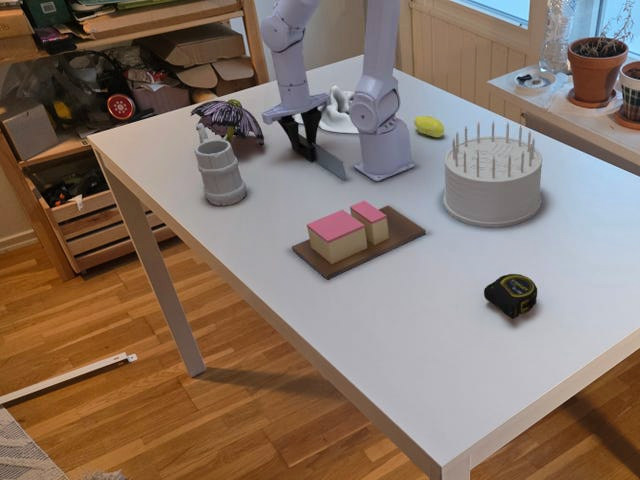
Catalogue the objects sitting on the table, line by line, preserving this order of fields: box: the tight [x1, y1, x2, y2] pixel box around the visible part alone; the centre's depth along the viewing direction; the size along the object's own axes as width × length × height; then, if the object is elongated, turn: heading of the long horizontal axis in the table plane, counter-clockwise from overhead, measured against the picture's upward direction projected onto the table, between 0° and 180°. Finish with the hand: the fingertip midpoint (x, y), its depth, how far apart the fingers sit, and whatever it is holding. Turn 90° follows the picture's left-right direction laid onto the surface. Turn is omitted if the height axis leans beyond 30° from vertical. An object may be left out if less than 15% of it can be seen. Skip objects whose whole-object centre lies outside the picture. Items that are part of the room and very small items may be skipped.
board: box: [291, 205, 426, 280], centre depth 110 cm, size 20×11×1 cm, turn 130°
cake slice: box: [349, 200, 389, 245], centre depth 109 cm, size 3×6×4 cm, turn 40°
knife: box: [290, 133, 347, 181], centre depth 131 cm, size 2×19×4 cm, turn 40°
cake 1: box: [306, 209, 367, 264], centre depth 107 cm, size 7×6×4 cm
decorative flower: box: [190, 98, 265, 151], centre depth 134 cm, size 15×12×15 cm
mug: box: [194, 123, 247, 207], centre depth 120 cm, size 8×12×12 cm, turn 33°
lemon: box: [413, 115, 445, 138], centre depth 139 cm, size 4×8×4 cm, turn 45°
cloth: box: [293, 85, 359, 135], centre depth 147 cm, size 22×19×6 cm
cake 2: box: [442, 120, 543, 228], centre depth 115 cm, size 18×18×13 cm
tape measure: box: [483, 273, 538, 320], centre depth 96 cm, size 7×7×4 cm
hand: (304, 147), depth 134 cm, fingers open, 3 cm apart
